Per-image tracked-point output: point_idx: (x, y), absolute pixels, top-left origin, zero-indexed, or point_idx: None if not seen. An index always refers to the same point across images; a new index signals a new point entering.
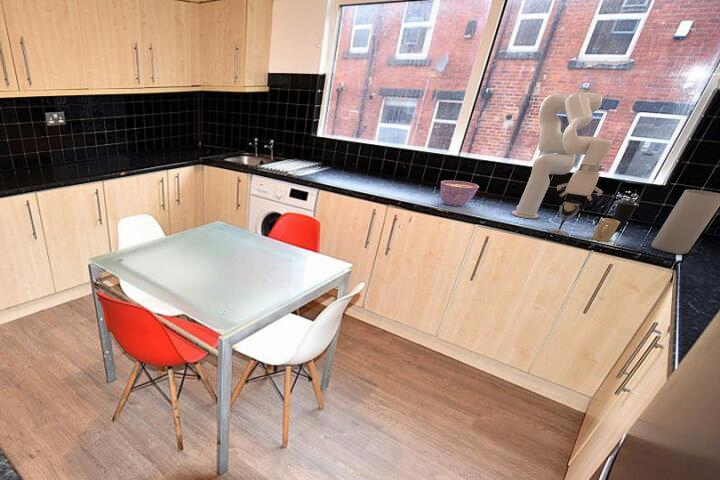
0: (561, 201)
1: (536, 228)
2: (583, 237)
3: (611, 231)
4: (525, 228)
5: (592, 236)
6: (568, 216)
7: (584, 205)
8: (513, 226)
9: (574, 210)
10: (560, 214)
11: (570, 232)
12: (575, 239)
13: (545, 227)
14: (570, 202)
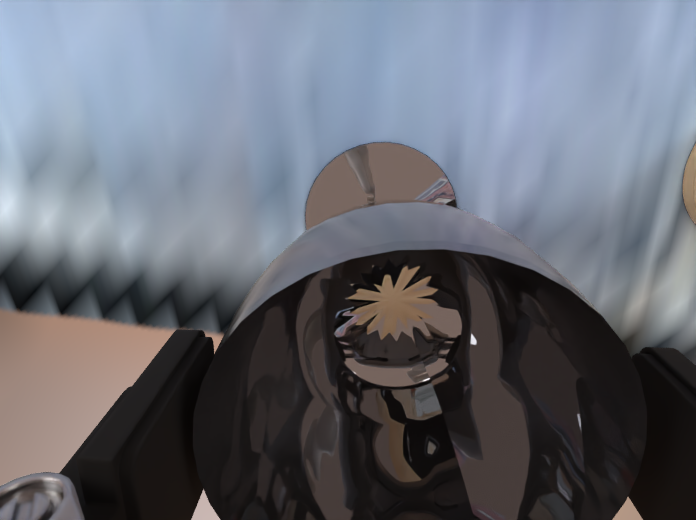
0: (195, 504)
1: (192, 214)
2: (602, 229)
3: None
4: (116, 294)
5: (691, 192)
6: (420, 371)
7: (645, 518)
8: (17, 302)
9: (474, 463)
10: (317, 343)
11: (500, 111)
12: None
13: (256, 88)
14: (387, 225)
